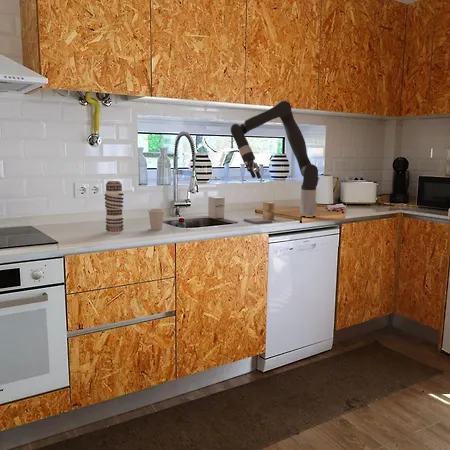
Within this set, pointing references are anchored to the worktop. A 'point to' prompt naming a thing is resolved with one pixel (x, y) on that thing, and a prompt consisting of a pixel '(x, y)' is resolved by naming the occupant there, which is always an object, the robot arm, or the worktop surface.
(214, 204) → the supplement box
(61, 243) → the worktop surface
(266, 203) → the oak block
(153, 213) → the dixie cup
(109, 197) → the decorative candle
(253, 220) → the plate
